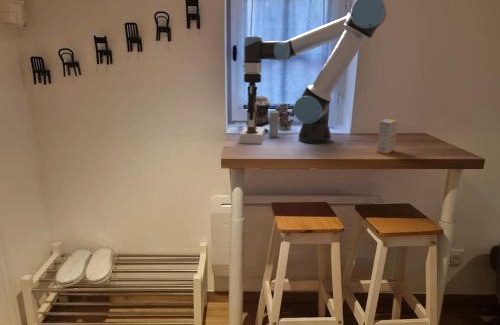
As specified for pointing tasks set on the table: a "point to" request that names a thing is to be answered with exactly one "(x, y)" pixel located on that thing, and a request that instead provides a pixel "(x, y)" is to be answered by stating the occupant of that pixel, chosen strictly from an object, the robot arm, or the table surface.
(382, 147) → the supplement box
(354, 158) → the table surface
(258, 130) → the socket block
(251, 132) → the walnut dowel
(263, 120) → the apothecary jar
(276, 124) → the square steel bar
